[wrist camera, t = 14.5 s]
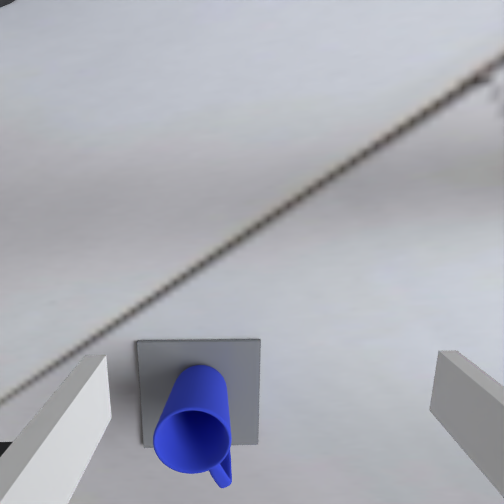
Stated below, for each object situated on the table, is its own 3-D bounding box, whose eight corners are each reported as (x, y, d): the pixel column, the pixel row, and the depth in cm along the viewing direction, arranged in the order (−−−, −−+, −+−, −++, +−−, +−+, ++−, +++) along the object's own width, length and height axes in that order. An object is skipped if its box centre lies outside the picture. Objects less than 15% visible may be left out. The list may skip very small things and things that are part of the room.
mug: (202, 440, 46) (193, 510, 36) (159, 372, 43) (137, 428, 34) (254, 416, 46) (260, 480, 36) (214, 346, 43) (208, 395, 33)
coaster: (138, 340, 43) (137, 342, 42) (260, 339, 44) (260, 341, 43) (144, 444, 46) (143, 447, 46) (257, 441, 47) (258, 444, 47)
